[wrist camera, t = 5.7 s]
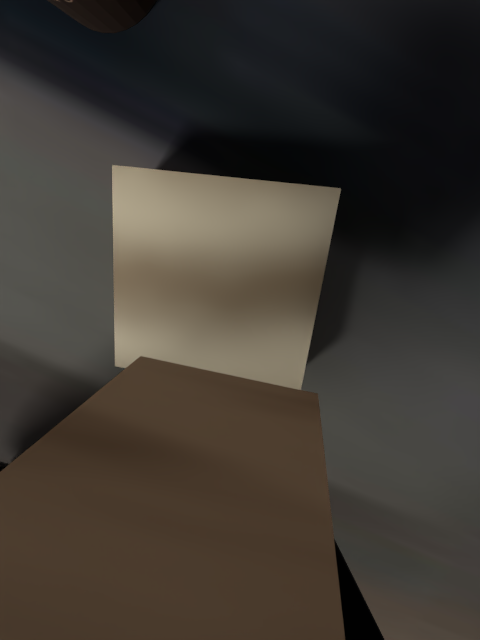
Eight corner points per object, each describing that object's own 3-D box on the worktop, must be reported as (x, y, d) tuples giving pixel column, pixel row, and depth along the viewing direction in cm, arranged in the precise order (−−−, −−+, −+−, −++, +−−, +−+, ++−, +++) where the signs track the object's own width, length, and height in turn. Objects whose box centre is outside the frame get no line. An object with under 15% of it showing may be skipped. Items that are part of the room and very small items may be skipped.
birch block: (298, 367, 19) (298, 402, 15) (148, 340, 21) (115, 366, 17) (331, 196, 16) (341, 188, 12) (152, 178, 17) (112, 165, 14)
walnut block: (283, 531, 10) (262, 960, 4) (135, 490, 10) (-61, 810, 5) (317, 393, 8) (361, 781, 2) (140, 356, 9) (-148, 593, 3)
